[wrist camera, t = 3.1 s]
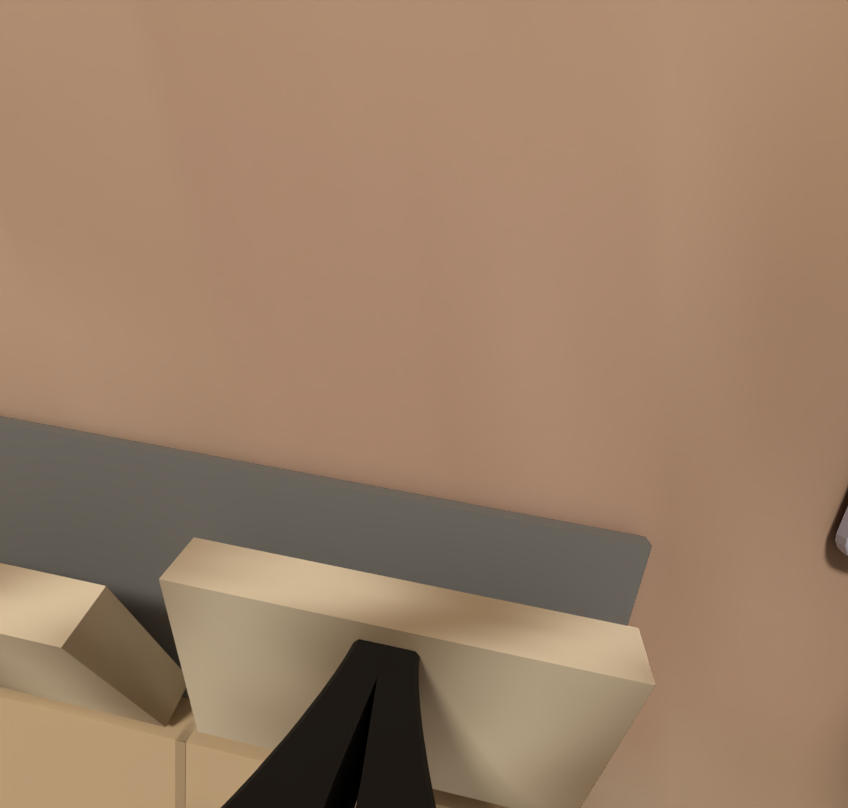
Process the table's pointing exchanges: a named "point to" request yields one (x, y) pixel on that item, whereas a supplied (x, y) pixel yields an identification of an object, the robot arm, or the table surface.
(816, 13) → the table surface
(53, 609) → the plank
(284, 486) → the floor base
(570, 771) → the plank
